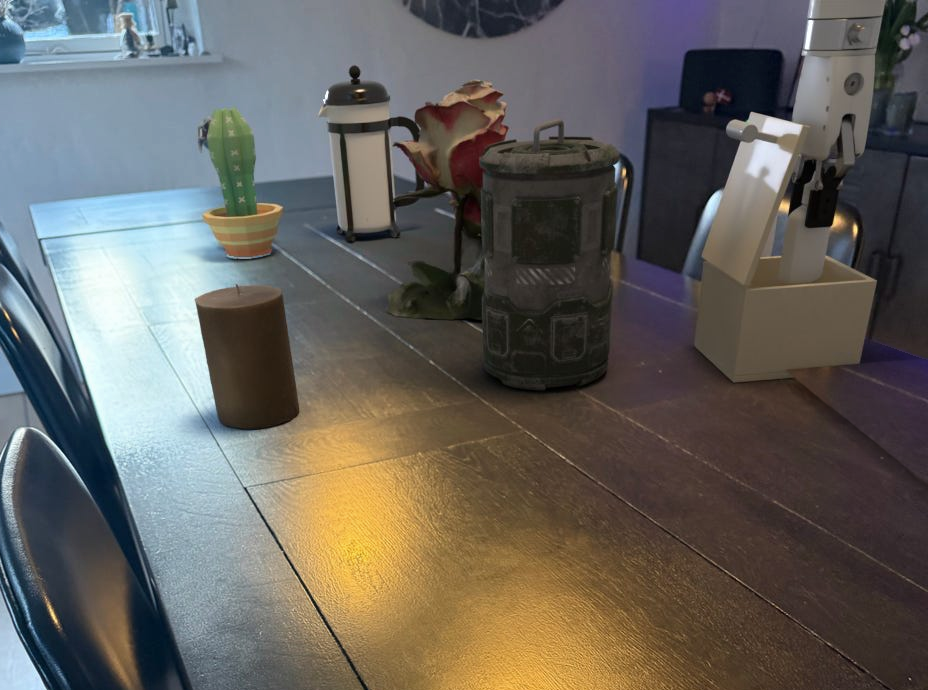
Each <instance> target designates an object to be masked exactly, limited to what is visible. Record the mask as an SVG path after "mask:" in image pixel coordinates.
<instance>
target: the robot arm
mask: <svg viewBox="0 0 928 690" xmlns="http://www.w3.org/2000/svg"><path fill="white" fill-rule="evenodd" d="M885 6H886V0H809V3H808V9H807V17H806V22H805V28H804V35H803V42H802V50H801V57H804V59H803V63H802V68H801V72H800V76H799V80H798V85H797V89H796V95H795V100H794V105H793V111H792V116H791V122H794V123H798V124H802V125H805V126H809V127H810V128H809V130H808V133H807V136H806V138H805V141H804V144H803V146H802V149H801V151H800V154H799V157H798V159H797V162H796V165H795V167H794V170H793V173H792V175H791V180H792V186H791V194H790V200H789V206H788V211H787V218H788V217H789V215H790V214H791V213H792V212H793V211H794V210H795V209H797V208H798V207H800V206H801V205H802V197H803V191H804V185H805V184H807V183H809V182H810V181H811V180H812V178H813V175H814V172H815V171H816V173H815V184H814V188H815V190H810V195H809V201H808V207H807V213H806V219H805V227H807V228H822V227H832V226H833V225H834V221H835V215H836V211H837V206H838V199H839V193H840V190H841V189H842V187H843V185H844V184H843V183H844V178H845V177H846V175H847V173H849V171H851V170H852V168H854V167H855V163H856V159H859V158H860V157H861V156H862V155H863V153H864V151H865V148H866V143H867V136H868V131H869V125H870V118H871V112H872V106H873V105H872V103H873V96H874V88H875V87H874V86H875V72H876V53H877V48H878V43H879V37H880V32H881V28H882V27H881V26H882V22H883V16H884V12H885ZM831 154H834V155H836V157H832V158H828V157H829V156H831ZM826 166H828V168H827V170H826Z"/></svg>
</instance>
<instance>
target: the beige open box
mask: <svg viewBox="0 0 928 690" xmlns="http://www.w3.org/2000/svg"><path fill="white" fill-rule="evenodd" d="M780 262H781V255H773V256H772V255H771V257H760V260H759V263H758V265H757V268H756V271H755V273H754V276H753V279H752V281H751V284H750V286H749V287H748V286H744V285H742V284H741V283H739V282H738V281H736V280H735V279H733V278H732V277H730V276H729V275H727V274H726V273H724V272H723V271H721V270H720V269H718V268H717V267H715V266H714V265H712V264H711V263H709V262H708V261H707V260H704V261H703V263H702V269H701V270H702V272H701V278H700V279H701V280H700V290H699V299H698V307H697V316H696V327H695V334H694V335H695V336H694V344H693V345H694V348H696V349H697V351H698V352H700V353H701V354H702V355H703V356H704V357H705V358H706V359H707V360H708V361H710V362H711V363H712V364H713V365H714V366H715V368H717V369H718V370H719V371H720V372H722V374H723V375H725V376H726V377H727V378H728V379H729V380H730V381H731V382H732V383H744V382H745V383H746V382H757V381H759V382H760V381H770V380H772V381H773V380H782V379H794V378H795V376H793V375H792V374H791V373H790V372H788V371H787V370H799V369H811V368H823V367H835V366H836V367H837V366H848V365H859V364H860V363H861V358H862V353H863V349H864V344H865V339H866V334H867V330H868V325H869V321H870V316H871V311H872V307H873V302H874V297H875V292H876V288H877V284H878V283H877V282H878V280H876V279H875V278H873V277H870V276H869V275H866V273H865V274H864V273H862V272H861V271H859V270H856V269H854V268H853V267H851V266H849V265H847V264H845V263H843V262H840V261H839V260H836V259H835V258H832V257H831V256H829V255H827V254H826V256H825V261H824V267H823V272H822V276H821V278H820V279H818V280H816V281H814V282H810V283H805V284H796V285H791V284H786V283H782V282H780V281H778V274H779V268H780Z"/></svg>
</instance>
